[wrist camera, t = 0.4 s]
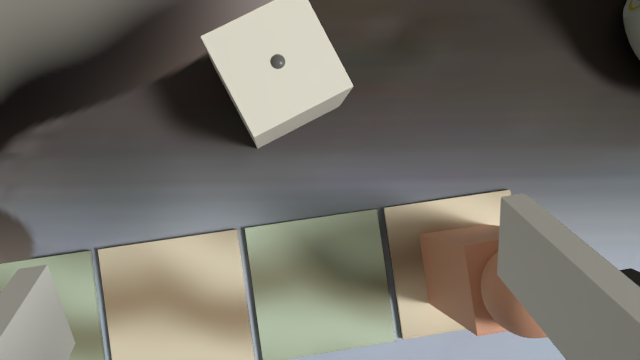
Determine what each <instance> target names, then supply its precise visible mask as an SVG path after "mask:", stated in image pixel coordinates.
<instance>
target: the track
mask: <svg viewBox="0 0 640 360" xmlns="http://www.w3.org/2000/svg"><path fill="white" fill-rule="evenodd" d="M504 196H511V193H510V190H503V191H497V192H490V193H483V194H476V195H469V196H462V197H455V198H448V199H442V200H435V201H428V202H421V203H414V204H407V205H400V206H393V207H386V208H384V215H385V222H386V229H387V236H388V243H389V250H390V257H391V264H392V271H393V278H394V285H395V292H396V299H397V306H398V313H399V320H400V327H401V334H402V339H403V340H404V339H410V338H416V337H422V336H428V335H433V334H439V333H445V332H451V331H457V330H463V329H466V328H465V327H463V326H462V325H460V324H459V323H457V322H456V321H454V320H453V319H451V318H450V317H448V316H447V315H445V314H444V313H442V312H441V311H439V310H438V309H436V308H435V307H433V306H432V305H430V304H429V300H428V293H427V286H426V279H425V272H424V266H423V259H422V252H421V245H420V238H419V234H424V233H431V232H437V231H444V230H451V229H457V228H464V227H470V226H477V225H484V224H488V225H496V226H500V207H501V197H504ZM245 234H246V241H247V248H248V255H249V263H250V270H251V277H252V285H253V292H254V299H255V307H256V314H257V321H258V329H259V336H260V343H261V350H262V358H263V360H286V359H292V358H298V357H304V356H310V355H316V354H322V353H328V352H333V351H339V350H345V349H351V348H357V347H363V346H369V345H375V344H381V343H386V342H392V341H396V339H395V332H394V325H393V318H392V311H391V304H390V297H389V290H388V283H387V276H386V269H385V263H384V256H383V249H382V242H381V235H380V228H379V221H378V214H377V209H373V210H366V211H359V212H352V213H345V214H338V215H331V216H324V217H318V218H311V219H304V220H297V221H290V222H283V223H276V224H269V225H263V226H256V227H249V228H245ZM98 255H99V263H100V270H101V278H102V286H103V293H104V301H105V309H106V317H107V324H108V332H109V340H110V347H111V355H112V360H255V356H254V349H253V342H252V334H251V327H250V320H249V312H248V305H247V298H246V290H245V283H244V276H243V268H242V261H241V254H240V246H239V239H238V232H237V229H235V230H228V231H221V232H214V233H207V234H201V235H194V236H187V237H180V238H173V239H166V240H159V241H152V242H146V243H139V244H132V245H125V246H118V247H111V248H104V249H98ZM41 265H48V268H49V271H50V273H51V276H52V279H53V282H54V285H55V287H56V290H57V293H58V296H59V299H60V301H61V304H62V307H63V310H64V313H65V315H66V318H67V321H68V324H69V327H70V329H71V332H72V335H73V338H74V341H75V345H74V347H73V350H72V352H71V354H70V356H69V359H68V360H105V354H104V346H103V338H102V330H101V323H100V315H99V307H98V299H97V292H96V284H95V276H94V269H93V261H92V253H91V250H90V251H84V252H77V253H70V254H63V255H56V256H49V257H42V258H35V259H28V260H22V261H15V262H8V263H1V264H0V293H1V292H2V291H3V289H4V288H5V287H6V285H7V284H8V283H9V281H10V280H11V278H12V277H13V276H14V274H15V273H16V272H17V270H18V269H21V268H27V267H34V266H41Z"/></svg>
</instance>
